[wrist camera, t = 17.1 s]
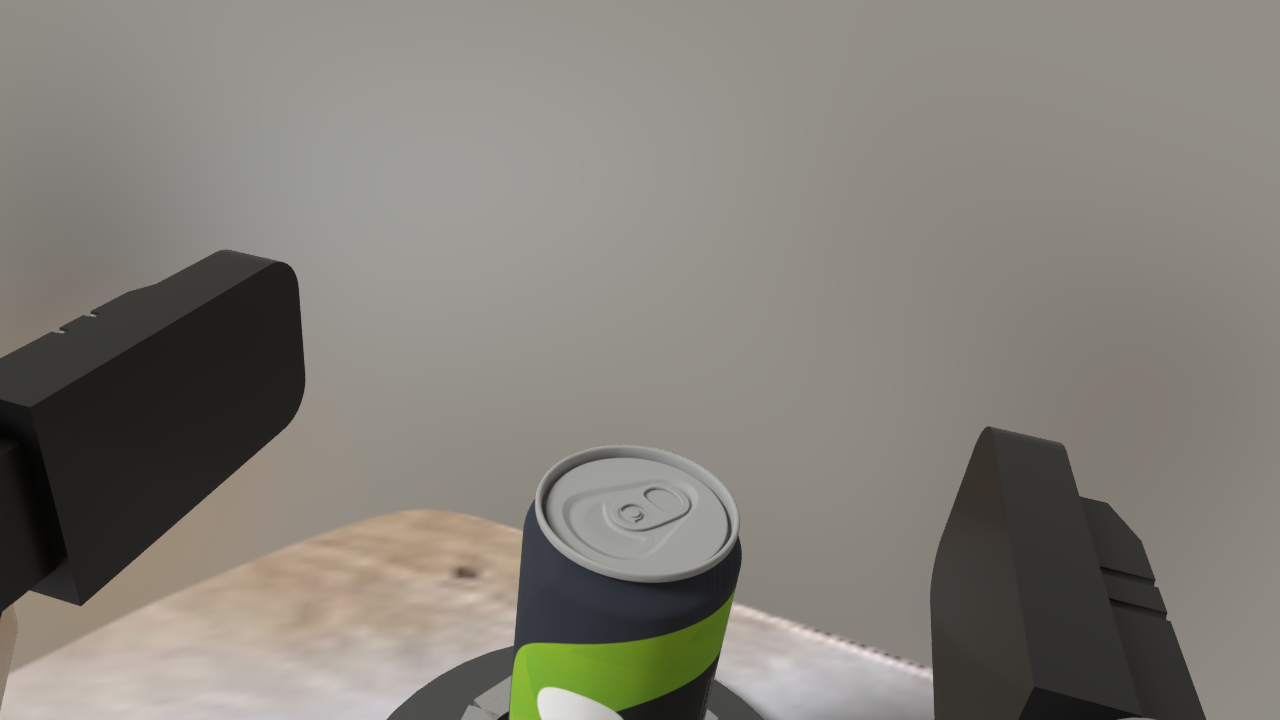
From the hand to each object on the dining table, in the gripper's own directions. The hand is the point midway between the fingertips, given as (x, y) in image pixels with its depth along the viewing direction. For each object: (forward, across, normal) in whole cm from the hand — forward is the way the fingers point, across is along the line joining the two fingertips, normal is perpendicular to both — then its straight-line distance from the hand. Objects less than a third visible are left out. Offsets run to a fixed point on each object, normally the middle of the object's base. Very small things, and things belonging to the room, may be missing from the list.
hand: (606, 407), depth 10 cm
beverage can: (+11, +1, +25) cm, 28 cm away
